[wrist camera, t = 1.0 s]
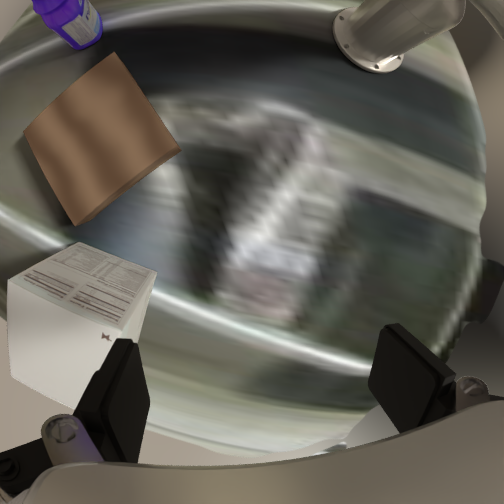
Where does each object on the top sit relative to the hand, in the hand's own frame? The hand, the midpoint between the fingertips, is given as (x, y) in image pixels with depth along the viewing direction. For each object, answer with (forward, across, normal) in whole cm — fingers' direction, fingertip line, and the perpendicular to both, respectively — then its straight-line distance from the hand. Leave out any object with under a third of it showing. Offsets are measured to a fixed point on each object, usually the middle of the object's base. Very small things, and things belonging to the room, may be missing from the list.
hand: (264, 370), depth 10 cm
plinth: (+30, +17, -13) cm, 37 cm away
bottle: (+30, +22, -31) cm, 49 cm away
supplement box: (+30, +18, +9) cm, 37 cm away
